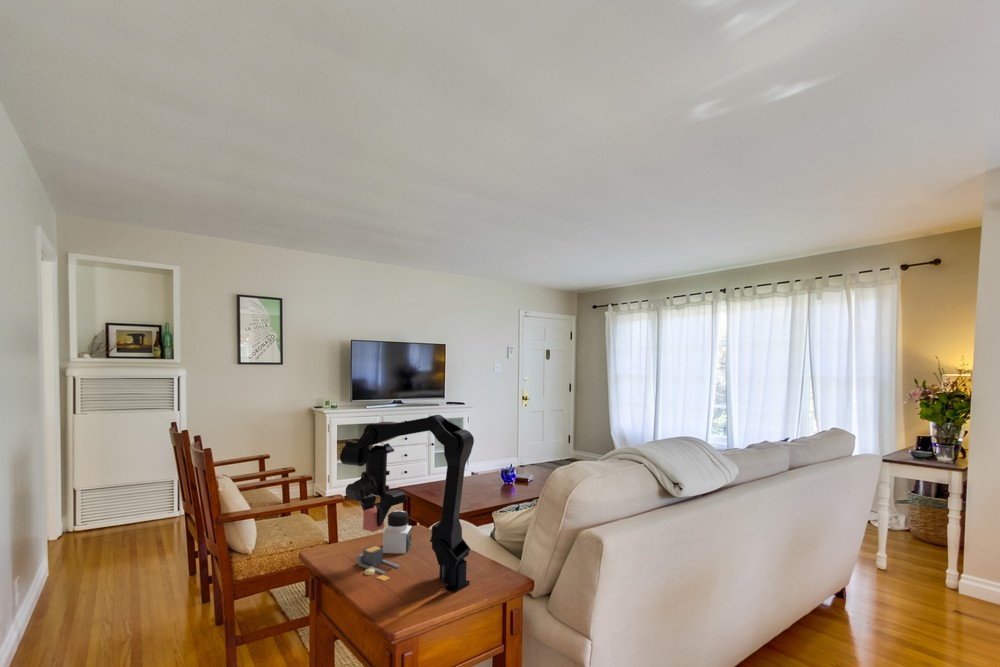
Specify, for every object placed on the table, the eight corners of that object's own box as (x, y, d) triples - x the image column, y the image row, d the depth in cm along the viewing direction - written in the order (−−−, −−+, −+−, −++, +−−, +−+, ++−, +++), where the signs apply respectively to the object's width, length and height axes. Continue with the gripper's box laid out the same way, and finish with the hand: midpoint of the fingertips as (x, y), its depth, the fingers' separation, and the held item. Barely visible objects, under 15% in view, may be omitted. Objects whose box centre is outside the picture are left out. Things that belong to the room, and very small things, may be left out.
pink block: (374, 525, 140) (374, 507, 141) (383, 528, 138) (384, 509, 138) (362, 528, 137) (363, 510, 137) (372, 532, 135) (373, 513, 135)
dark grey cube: (382, 563, 138) (383, 548, 138) (372, 567, 135) (373, 552, 135) (372, 560, 140) (373, 545, 140) (362, 564, 137) (363, 549, 137)
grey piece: (410, 576, 133) (410, 562, 133) (384, 588, 126) (385, 573, 126) (372, 562, 142) (373, 549, 142) (346, 572, 134) (347, 559, 135)
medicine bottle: (406, 558, 145) (407, 516, 146) (382, 557, 145) (383, 515, 146) (411, 548, 152) (412, 509, 153) (388, 548, 153) (389, 508, 153)
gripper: (330, 467, 137) (328, 525, 136) (376, 478, 127) (374, 540, 126) (362, 461, 146) (360, 515, 146) (408, 470, 136) (406, 528, 135)
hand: (374, 524), depth 138 cm, fingers closed on pink block, 4 cm apart
